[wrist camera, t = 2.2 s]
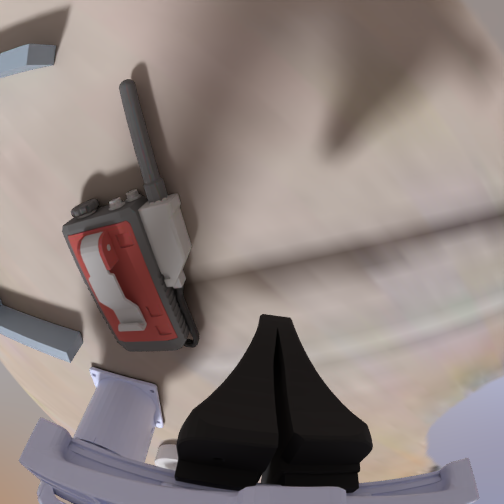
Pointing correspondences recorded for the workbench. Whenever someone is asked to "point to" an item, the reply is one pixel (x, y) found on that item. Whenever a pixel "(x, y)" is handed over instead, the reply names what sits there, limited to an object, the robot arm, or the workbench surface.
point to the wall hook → (167, 456)
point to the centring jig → (3, 318)
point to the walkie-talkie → (136, 253)
